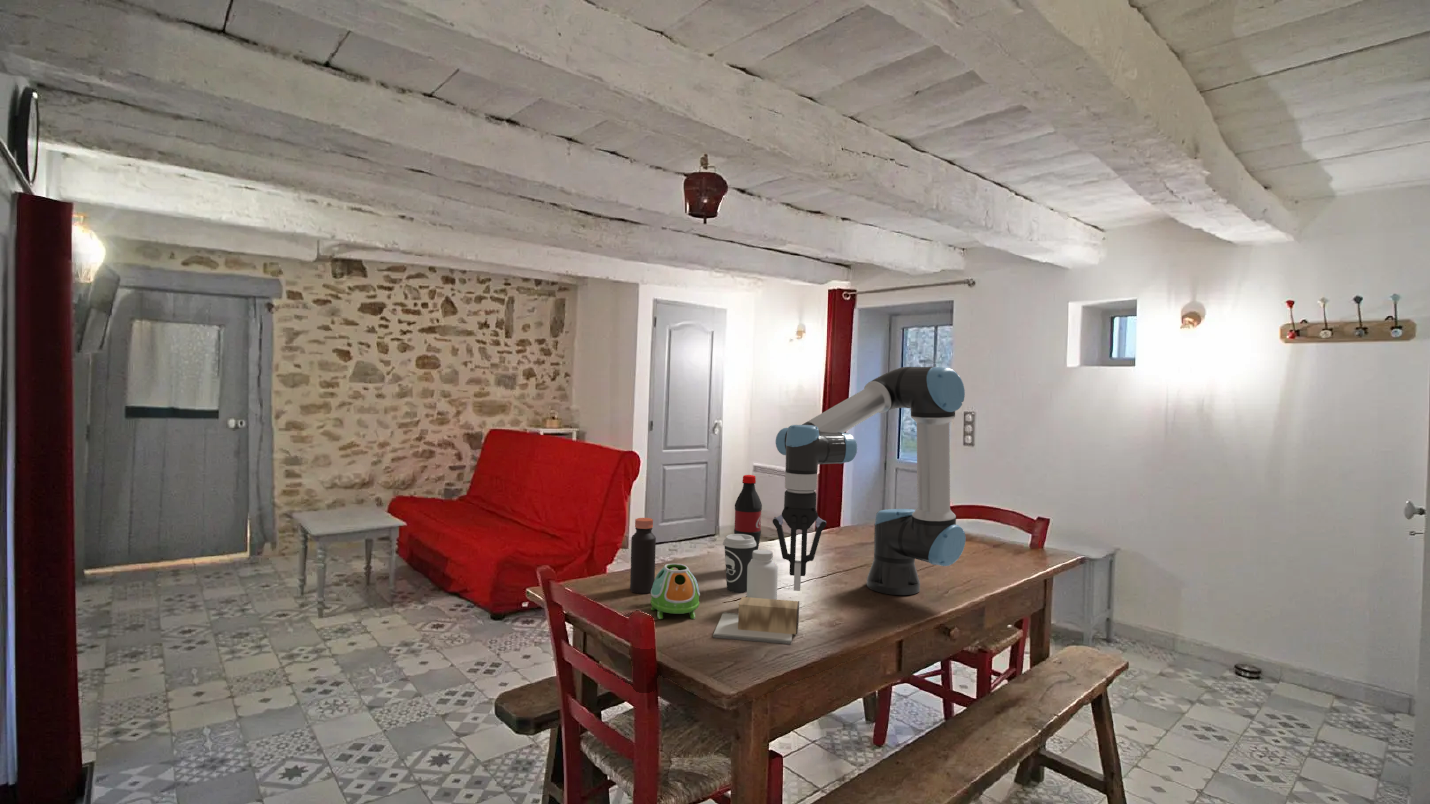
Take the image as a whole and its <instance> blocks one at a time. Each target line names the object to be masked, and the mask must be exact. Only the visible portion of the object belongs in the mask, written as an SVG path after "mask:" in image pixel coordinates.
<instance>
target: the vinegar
mask: <svg viewBox="0 0 1430 804" xmlns="http://www.w3.org/2000/svg"><path fill="white" fill-rule="evenodd" d="M634 523H635V524H634V525H635V526H634V527H635V533H634V534H633V535H632V536H631V538H630V539H631V540H630V541H631V542H630V575H629V576H630V577H629V578H630V579H629V580H630V582H629V583H630V584H629V586H630V587H629V589H630V592H632V593H634V594H642V595H643V594H644V595H645V594H646V595H647V594H651V589H652V586H653V583H654V581H655V578H656V549H657V548H656V547H657V546H656V542H657V541H656V540H657V537H656V535H654V533H653V532H652V530H653V528H654V520H653V519H652V518H650V517H638V518H635V519H634Z"/></svg>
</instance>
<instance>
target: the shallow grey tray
mask: <svg viewBox="0 0 1430 804" xmlns="http://www.w3.org/2000/svg"><path fill="white" fill-rule="evenodd" d="M738 614H739V613H734V612H722V614H721V617H720V619H719V621H718V623H717V625H716V627H715V629H714V633H713V634H712V638H715V639H727V640H735V641H736V640H738V641H739V640H740V641H749V642H761V643H772V644H781V645H782V644H783V645H792V640H793V634H786V633H774V632H763V631H751V630H739V629H738Z"/></svg>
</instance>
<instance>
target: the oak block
mask: <svg viewBox="0 0 1430 804" xmlns="http://www.w3.org/2000/svg"><path fill="white" fill-rule="evenodd" d="M737 614H738V629H739V630H751V631H763V632H774V633H786V634H792V635H798V632H799V625H800V624H799V617H800V601H799V600H788V599H777V600H776V599H763V598H750V597H747V596H741V598H740V601H739V604H738V613H737Z"/></svg>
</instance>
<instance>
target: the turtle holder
mask: <svg viewBox="0 0 1430 804" xmlns="http://www.w3.org/2000/svg"><path fill="white" fill-rule="evenodd" d="M699 589H700V588H699V585H698V581H697V578H696V577H695V576H694V574H693V572H691V571H690V568H689V567H688V566H687V565H685V564H682V563H666V564H665V565H664V566H663V567H662V568H660V570H659V571H658V572H657V574H655V581H654V583H653V586H652V589H651V593H650V595H651V596H650V597H651V599H650V604H651V608H650V610H651V611H652V612H653V611H657V613H656V614H657V615H656V617H657V619H658V620H663V619H664V613H666V614H674V615H675V614H677V615H678V614H679V615H680V614H688V613H689V614H688V615H689V618H690V619H691V620H695V619H696V613H695V610H697V609H698V608H699V606H700V601H699V600H700V596H701V593H700V590H699Z"/></svg>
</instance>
